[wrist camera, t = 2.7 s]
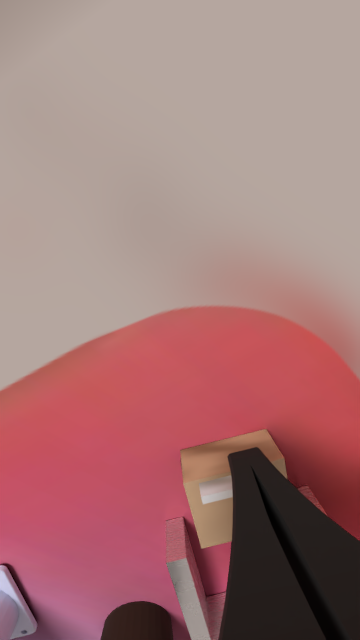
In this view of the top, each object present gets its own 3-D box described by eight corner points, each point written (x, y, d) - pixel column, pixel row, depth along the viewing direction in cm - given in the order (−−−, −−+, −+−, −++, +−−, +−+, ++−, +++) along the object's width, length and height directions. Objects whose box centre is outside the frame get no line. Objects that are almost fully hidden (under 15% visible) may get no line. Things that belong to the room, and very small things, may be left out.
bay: (194, 611, 23) (198, 663, 20) (165, 520, 21) (166, 564, 18) (319, 579, 23) (342, 625, 20) (307, 485, 21) (332, 522, 18)
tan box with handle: (195, 508, 21) (203, 565, 17) (179, 450, 19) (183, 497, 15) (276, 488, 21) (302, 540, 17) (266, 428, 19) (292, 470, 15)
